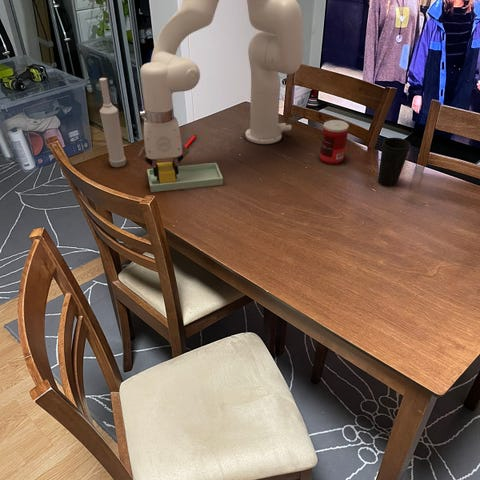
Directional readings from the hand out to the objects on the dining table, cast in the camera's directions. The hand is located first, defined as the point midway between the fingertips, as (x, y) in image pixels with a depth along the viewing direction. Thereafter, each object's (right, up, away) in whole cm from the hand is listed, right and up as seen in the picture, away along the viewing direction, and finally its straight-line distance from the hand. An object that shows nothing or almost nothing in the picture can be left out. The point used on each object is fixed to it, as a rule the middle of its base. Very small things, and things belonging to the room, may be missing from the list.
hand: (166, 176), depth 141 cm
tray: (+5, 0, +2) cm, 6 cm away
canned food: (+51, +9, +13) cm, 54 cm away
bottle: (-17, +7, +10) cm, 20 cm away
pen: (+4, +15, +18) cm, 24 cm away
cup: (+66, -1, +2) cm, 66 cm away
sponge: (0, -1, 0) cm, 1 cm away
